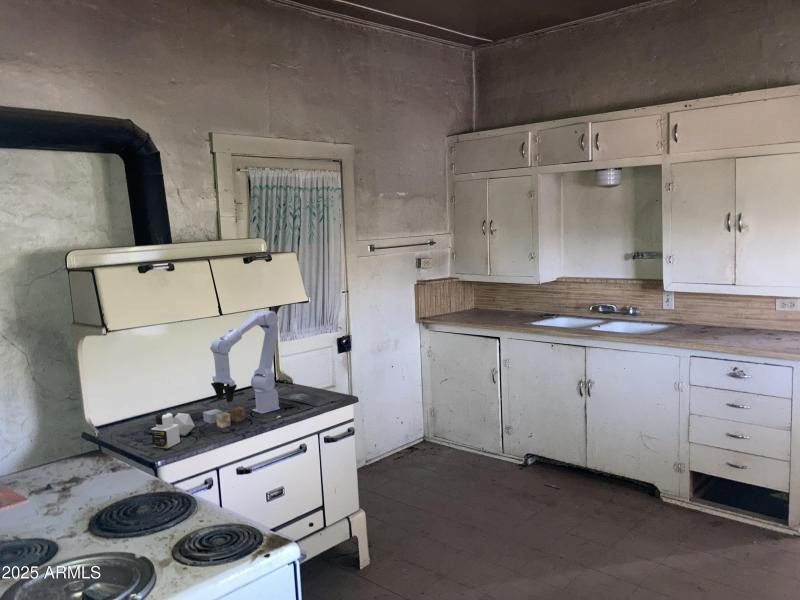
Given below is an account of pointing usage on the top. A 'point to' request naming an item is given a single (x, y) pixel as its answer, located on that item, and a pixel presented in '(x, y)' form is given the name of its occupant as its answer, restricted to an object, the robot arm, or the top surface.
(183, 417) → the die
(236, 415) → the walnut block
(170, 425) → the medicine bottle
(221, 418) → the maple block
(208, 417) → the base block
